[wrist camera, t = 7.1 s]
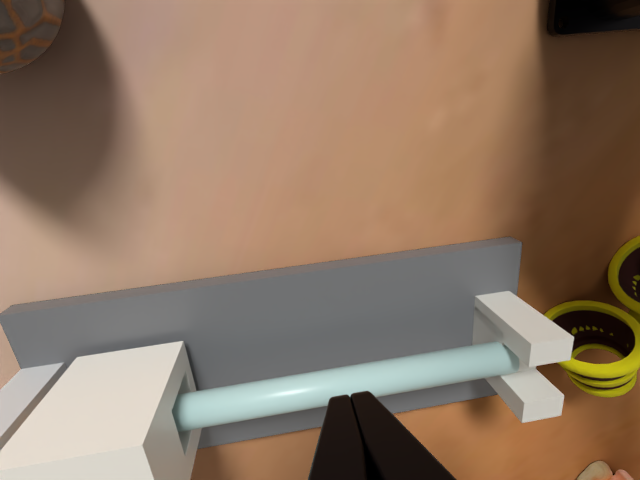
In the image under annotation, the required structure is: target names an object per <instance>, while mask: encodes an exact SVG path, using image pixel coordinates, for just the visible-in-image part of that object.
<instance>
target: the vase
mask: <svg viewBox="0 0 640 480" xmlns="http://www.w3.org/2000/svg"><path fill="white" fill-rule="evenodd" d="M64 1H65V0H0V74H4V73H8V72H11V71H14V70H16V69H19V68H21V67H23V66H25V65H27V64H29V63H31V62H32V61H34V60H35V59H37V58H38V57H39V56H40V55H41V54H42V53H44V52H45V51H46V50H47V48H48V47H49V46H50V45H51V44H52V42H53V41H54V39H55V37H56V35H57V33H58V31H59V29H60V26H61V23H62V19H63V14H64Z"/></svg>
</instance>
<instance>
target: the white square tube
mask: <svg viewBox="0 0 640 480" xmlns="http://www.w3.org/2000/svg"><path fill="white" fill-rule="evenodd" d="M194 391H196V387H195V383H194V379H193V375H192V372H191V368H190V364H189V360H188V356H187V352H186V348H185V344H184V341H179V342H172V343H166V344H159V345H153V346H146V347H140V348H133V349H127V350H120V351H113V352H107V353H100V354H94V355H87V356H81V357H77V358H76V359H75V360H74V361H73V363H72V364H71V365H70V366H69V367H68V369H67V370H66V371H65V372H64V374H63V375H62V376H61V377H60V378H59V380H58V381H57V382H56V383H55V385H54V386H53V387H52V388H51V389H50V391H49V392H48V393H47V394H46V396H45V397H44V398H43V399H42V400H41V402H40V403H39V404H38V405H37V407H36V408H35V409H34V410H33V411H32V413H31V414H30V415H29V416H28V418H27V419H26V420H25V421H24V422H23V424H22V425H21V426H20V427H19V429H18V430H17V431H16V432H15V433H14V435H13V436H12V437H11V438H10V440H9V441H8V442H7V443H6V444H5V446H4V447H3V448H2V449H1V451H0V480H190V479H191V474H192V470H193V465H194V461H195V456H196V452H197V447H198V443H199V439H200V434H201V430H202V428H199V429H193V430H188V431H182V432H178V431H177V428H176V424H175V421H174V418H173V414H172V409H173V406H174V403H175V400H176V397H177V394H182V393H188V392H194Z"/></svg>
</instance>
